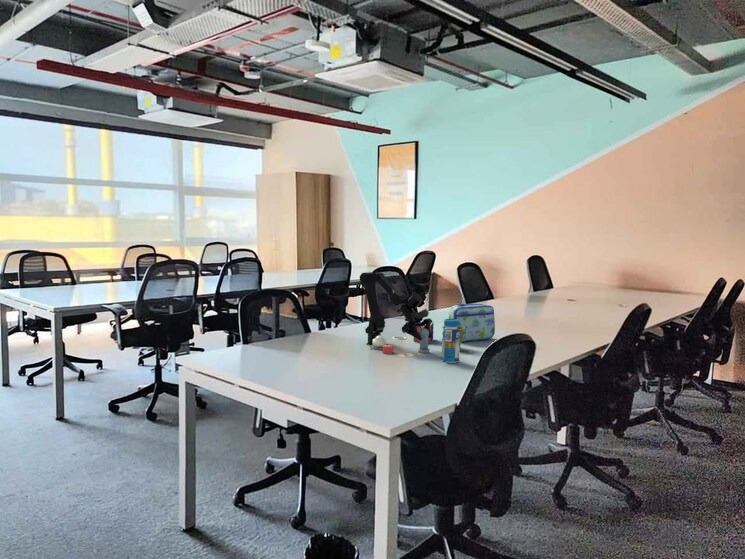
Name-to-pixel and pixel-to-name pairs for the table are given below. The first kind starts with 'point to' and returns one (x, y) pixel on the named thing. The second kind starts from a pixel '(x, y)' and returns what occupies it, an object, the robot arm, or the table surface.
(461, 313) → the lunch box
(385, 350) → the red die
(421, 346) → the pawn
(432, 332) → the puzzle cube
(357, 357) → the table surface
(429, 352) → the game board
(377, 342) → the dome
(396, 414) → the table surface
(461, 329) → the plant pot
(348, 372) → the table surface
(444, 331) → the beverage bottle
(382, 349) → the dome base
